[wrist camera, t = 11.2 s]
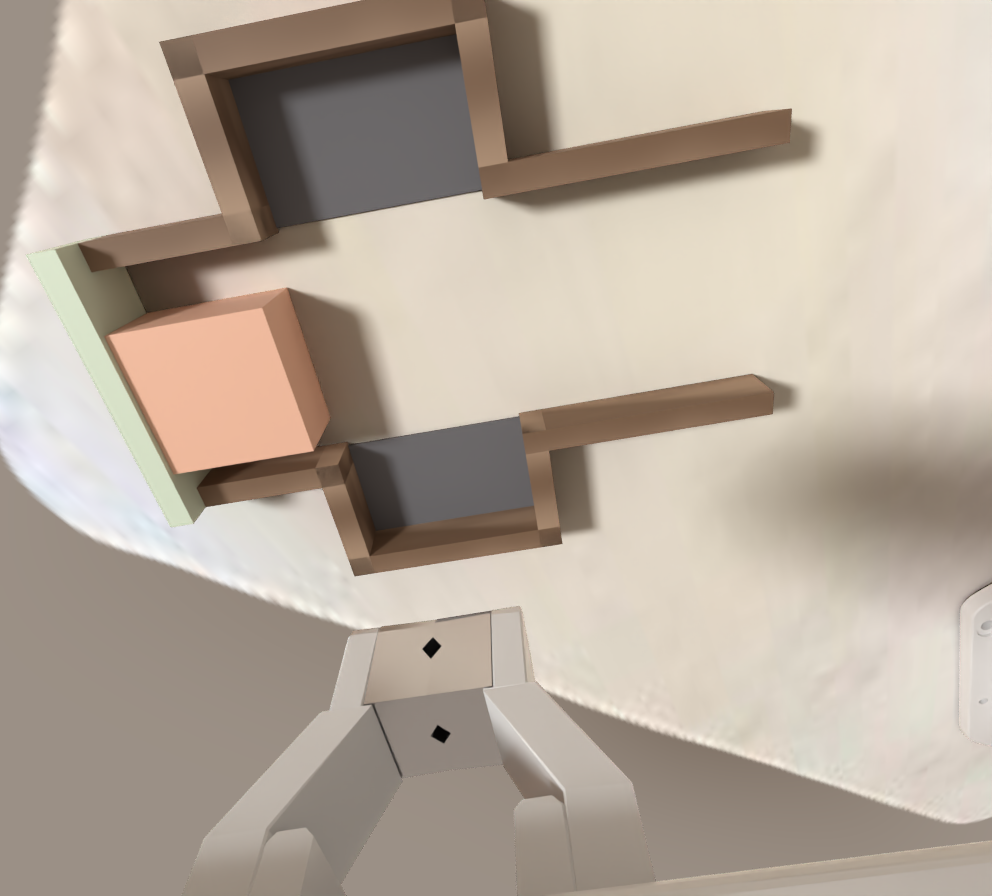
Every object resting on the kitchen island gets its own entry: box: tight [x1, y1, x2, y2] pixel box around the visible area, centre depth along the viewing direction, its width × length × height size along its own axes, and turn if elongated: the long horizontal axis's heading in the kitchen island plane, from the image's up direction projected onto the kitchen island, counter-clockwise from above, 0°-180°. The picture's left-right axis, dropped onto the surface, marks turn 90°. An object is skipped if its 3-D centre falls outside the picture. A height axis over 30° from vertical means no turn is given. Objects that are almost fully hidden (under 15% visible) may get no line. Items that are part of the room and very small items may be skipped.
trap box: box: [26, 0, 792, 576], centre depth 27 cm, size 25×31×4 cm
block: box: [104, 288, 331, 474], centre depth 28 cm, size 7×7×4 cm
